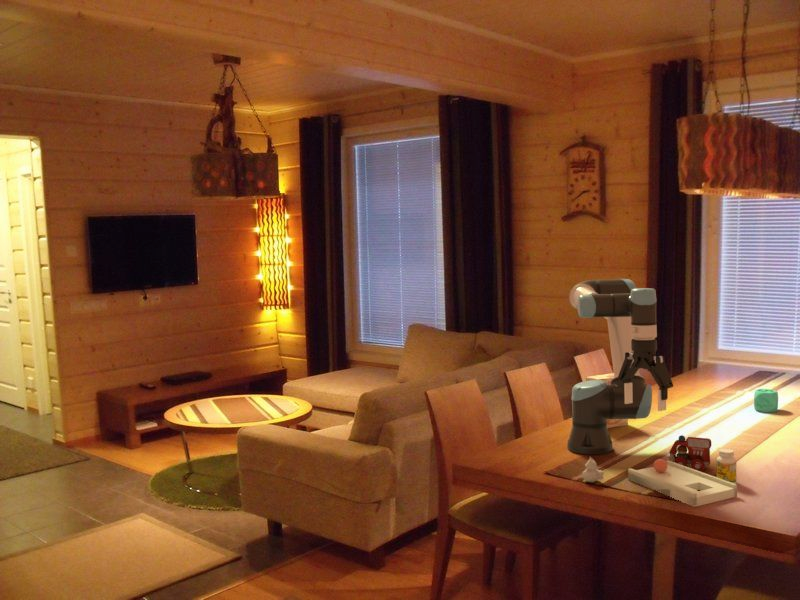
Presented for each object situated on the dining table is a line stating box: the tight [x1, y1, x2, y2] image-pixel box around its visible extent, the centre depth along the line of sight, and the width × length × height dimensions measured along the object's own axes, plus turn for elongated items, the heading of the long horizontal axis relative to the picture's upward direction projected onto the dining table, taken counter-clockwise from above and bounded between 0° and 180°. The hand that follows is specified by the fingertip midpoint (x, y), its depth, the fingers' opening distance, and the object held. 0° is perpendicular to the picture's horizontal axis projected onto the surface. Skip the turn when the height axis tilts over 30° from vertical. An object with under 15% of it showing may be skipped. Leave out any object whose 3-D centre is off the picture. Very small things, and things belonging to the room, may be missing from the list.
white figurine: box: [581, 456, 605, 483], centre depth 230 cm, size 5×7×8 cm
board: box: [627, 459, 738, 508], centre depth 222 cm, size 26×16×4 cm, turn 25°
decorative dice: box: [753, 388, 779, 413], centre depth 308 cm, size 8×8×8 cm
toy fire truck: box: [669, 434, 712, 472], centre depth 239 cm, size 7×12×10 cm, turn 57°
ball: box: [653, 458, 668, 473], centre depth 229 cm, size 4×4×4 cm
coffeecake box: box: [585, 372, 629, 429], centre depth 293 cm, size 15×7×20 cm, turn 114°
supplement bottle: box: [716, 448, 737, 484], centre depth 225 cm, size 5×5×10 cm
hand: (644, 406), depth 236 cm, fingers open, 13 cm apart
